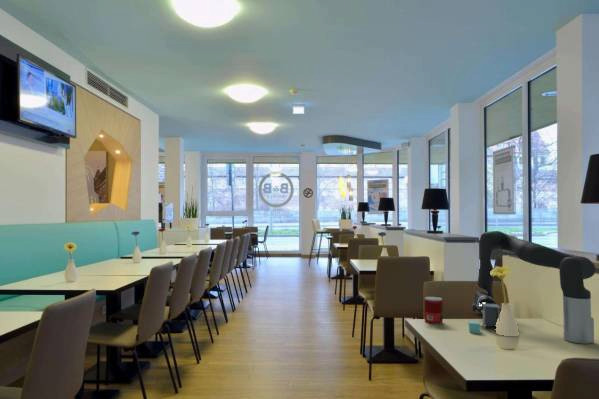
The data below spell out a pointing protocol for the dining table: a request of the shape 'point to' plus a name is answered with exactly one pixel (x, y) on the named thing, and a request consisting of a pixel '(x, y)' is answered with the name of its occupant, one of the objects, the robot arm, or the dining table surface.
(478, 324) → the teal block
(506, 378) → the dining table surface
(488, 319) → the tall grey pillar block
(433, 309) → the canned food
